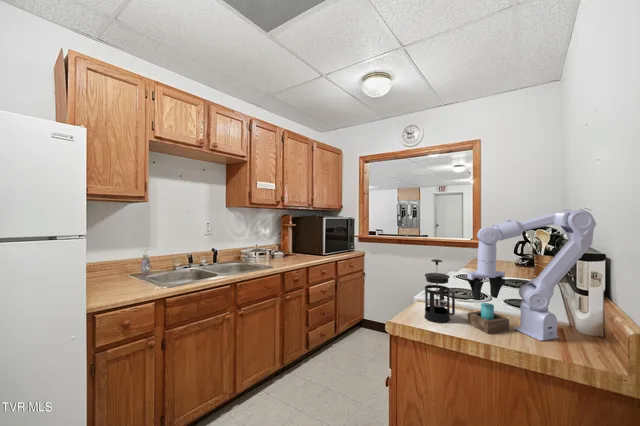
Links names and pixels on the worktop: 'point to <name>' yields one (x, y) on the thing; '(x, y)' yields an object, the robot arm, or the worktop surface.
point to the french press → (436, 307)
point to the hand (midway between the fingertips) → (485, 298)
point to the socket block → (488, 323)
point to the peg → (487, 311)
